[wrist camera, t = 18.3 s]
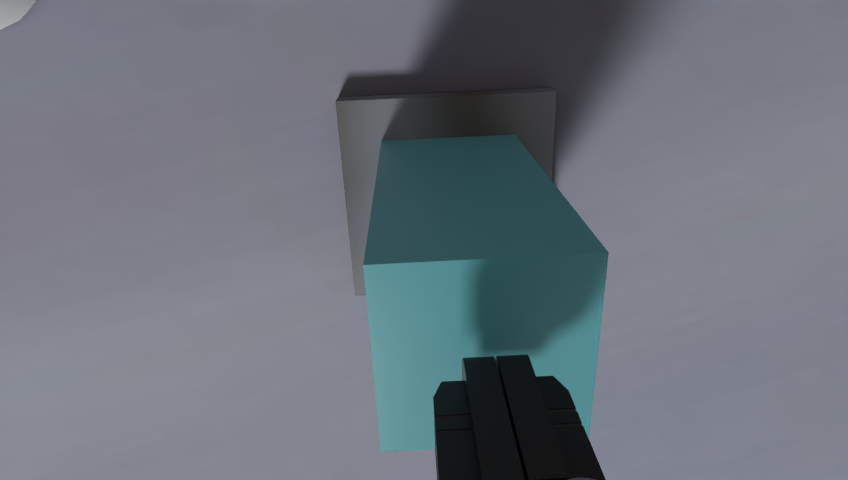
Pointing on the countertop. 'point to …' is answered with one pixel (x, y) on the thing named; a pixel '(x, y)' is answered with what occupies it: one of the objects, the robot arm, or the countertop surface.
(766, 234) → the countertop surface
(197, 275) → the countertop surface
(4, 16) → the spray bottle
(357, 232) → the post
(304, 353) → the countertop surface
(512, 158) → the teal pillar
